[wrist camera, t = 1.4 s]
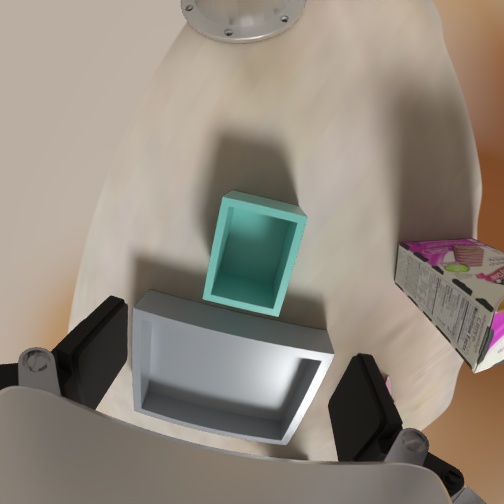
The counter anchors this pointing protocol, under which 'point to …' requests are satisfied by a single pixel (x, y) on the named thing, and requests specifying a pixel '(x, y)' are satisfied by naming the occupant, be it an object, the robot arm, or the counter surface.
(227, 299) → the teal crate
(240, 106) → the counter surface
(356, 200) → the counter surface
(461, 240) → the candy bar box
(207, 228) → the counter surface
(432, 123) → the counter surface
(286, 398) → the gray crate
